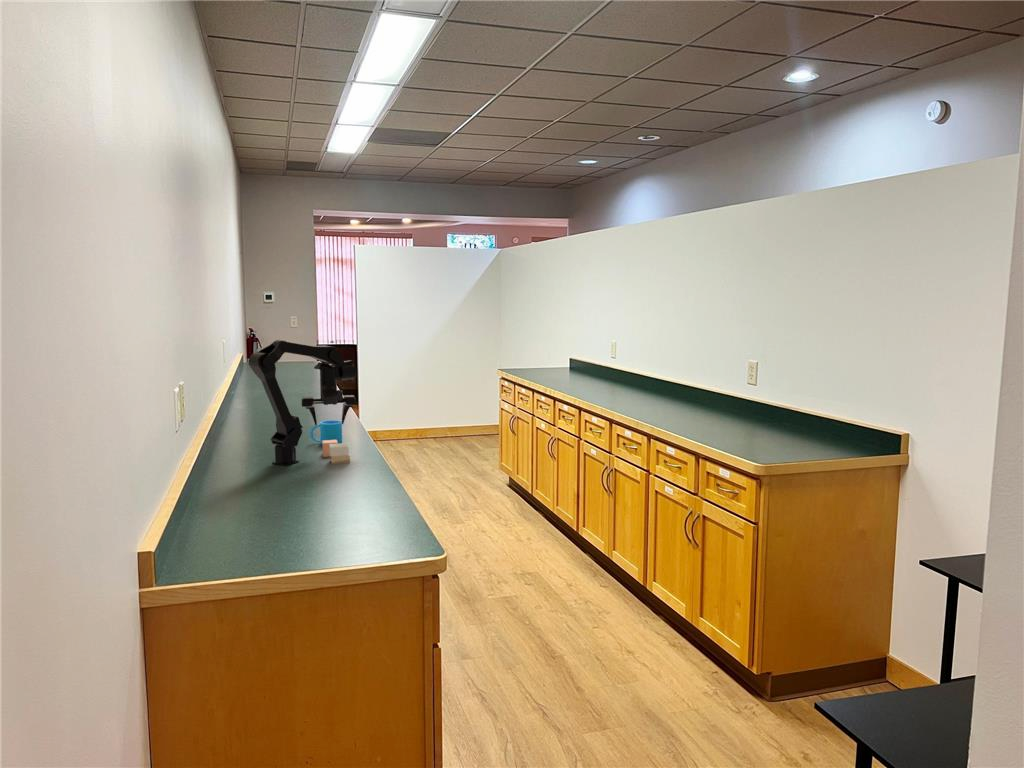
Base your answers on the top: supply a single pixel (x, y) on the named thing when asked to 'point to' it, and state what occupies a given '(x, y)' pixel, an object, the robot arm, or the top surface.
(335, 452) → the slab upper
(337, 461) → the slab lower
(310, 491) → the top surface
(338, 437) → the mug
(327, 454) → the coral cube
